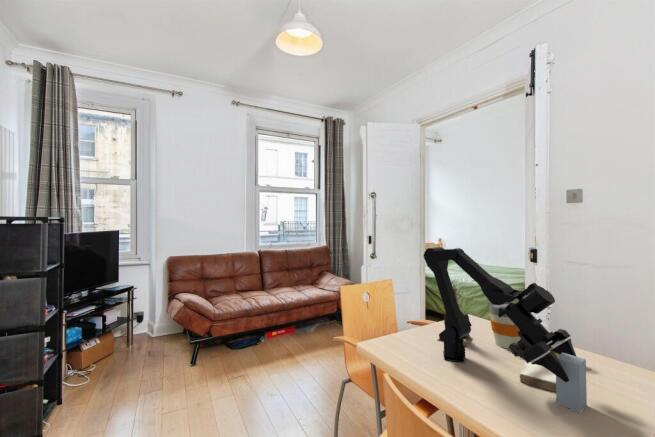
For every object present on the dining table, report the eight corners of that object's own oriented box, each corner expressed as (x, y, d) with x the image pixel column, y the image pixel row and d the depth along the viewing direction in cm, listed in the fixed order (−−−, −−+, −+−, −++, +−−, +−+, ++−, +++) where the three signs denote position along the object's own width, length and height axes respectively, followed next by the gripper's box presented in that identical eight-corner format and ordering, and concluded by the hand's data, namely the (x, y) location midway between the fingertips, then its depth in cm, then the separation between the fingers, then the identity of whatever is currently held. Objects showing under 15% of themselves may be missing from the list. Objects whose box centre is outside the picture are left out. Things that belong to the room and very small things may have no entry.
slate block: (556, 403, 80) (555, 357, 80) (563, 396, 83) (562, 352, 83) (580, 412, 76) (579, 364, 76) (586, 405, 79) (585, 359, 79)
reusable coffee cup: (527, 342, 119) (526, 303, 119) (528, 354, 108) (527, 312, 108) (491, 335, 126) (490, 299, 126) (488, 347, 115) (487, 307, 115)
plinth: (520, 381, 91) (520, 373, 91) (524, 368, 98) (524, 360, 98) (562, 393, 84) (562, 384, 84) (563, 378, 92) (563, 369, 92)
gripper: (519, 329, 98) (561, 377, 89) (490, 343, 87) (534, 400, 78) (547, 310, 92) (595, 360, 83) (519, 323, 81) (571, 382, 72)
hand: (574, 375), depth 79 cm, fingers open, 9 cm apart
